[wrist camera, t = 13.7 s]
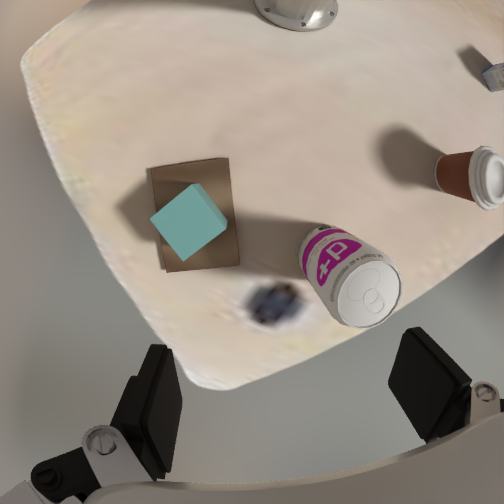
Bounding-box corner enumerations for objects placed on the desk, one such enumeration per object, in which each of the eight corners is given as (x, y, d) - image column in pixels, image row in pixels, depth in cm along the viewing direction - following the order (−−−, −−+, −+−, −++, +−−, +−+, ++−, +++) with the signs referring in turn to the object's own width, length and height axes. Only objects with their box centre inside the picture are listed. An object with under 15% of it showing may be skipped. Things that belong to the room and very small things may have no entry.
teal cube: (199, 183, 34) (191, 184, 28) (227, 220, 36) (226, 229, 30) (162, 212, 35) (149, 219, 29) (191, 248, 36) (183, 261, 30)
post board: (153, 169, 34) (139, 168, 29) (228, 158, 34) (227, 155, 29) (168, 270, 38) (158, 285, 33) (239, 262, 38) (240, 277, 33)
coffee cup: (428, 141, 35) (481, 137, 23) (464, 153, 35) (514, 155, 24) (425, 197, 37) (477, 208, 26) (461, 204, 38) (510, 216, 26)
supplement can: (285, 250, 38) (314, 294, 24) (331, 212, 37) (385, 235, 23) (317, 291, 40) (356, 348, 26) (361, 256, 39) (417, 297, 25)
